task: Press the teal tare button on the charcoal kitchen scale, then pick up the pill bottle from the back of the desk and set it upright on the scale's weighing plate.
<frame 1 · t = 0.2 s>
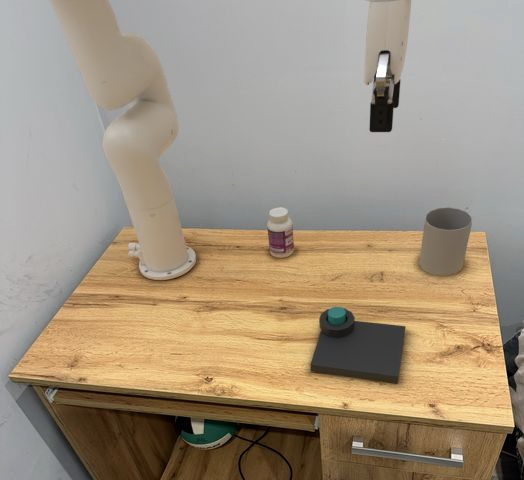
hand: (384, 118, 76), 31 cm above the table, tool pointing down, fingers open, 9 cm apart
tare button: (336, 315, 86), point 4 cm above the table, slide at 0.2 cm
pill bottle: (282, 252, 109), on the table
scale: (358, 352, 84), on the table
cup: (440, 264, 100), on the table
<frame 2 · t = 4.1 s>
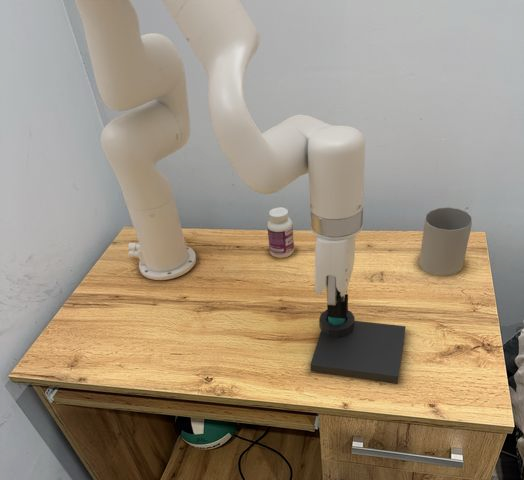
hand: (337, 314, 85), 4 cm above the table, tool pointing down, fingers closed
tare button: (336, 318, 86), point 3 cm above the table, slide at -0.4 cm, touching gripper
everything else where it was.
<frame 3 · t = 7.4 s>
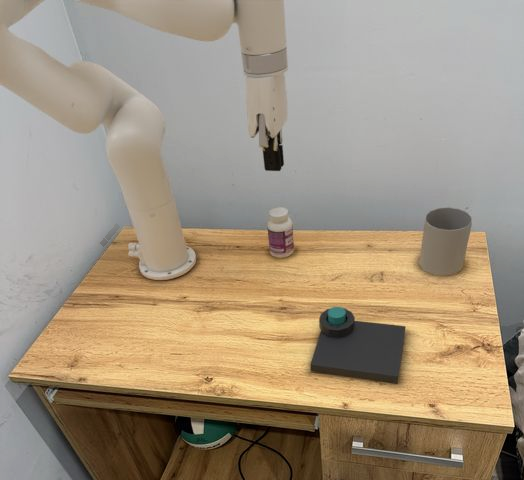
hand: (274, 167, 96), 19 cm above the table, tool pointing down, fingers closed
tare button: (336, 316, 86), point 4 cm above the table, slide at 0.1 cm
everything else where it was.
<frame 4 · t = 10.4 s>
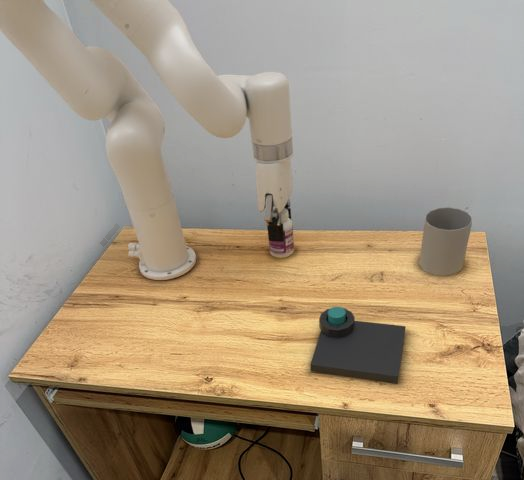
hand: (280, 232, 106), 5 cm above the table, tool pointing down, fingers closed on pill bottle, 5 cm apart
pill bottle: (282, 252, 109), on the table, touching gripper
everything else where it was.
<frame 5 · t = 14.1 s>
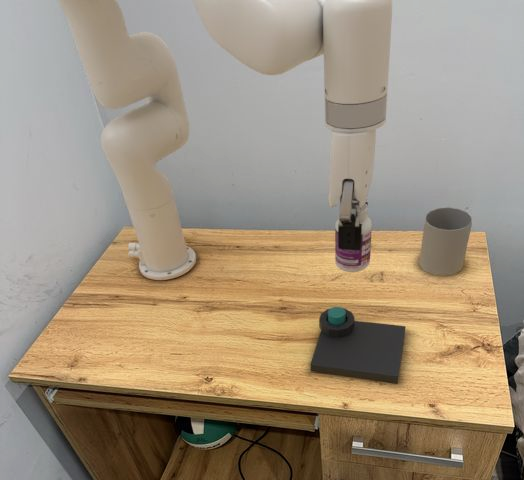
hand: (352, 236, 74), 20 cm above the table, tool pointing down, fingers closed on pill bottle, 5 cm apart
pill bottle: (352, 264, 78), point 15 cm above the table, touching gripper
everything else where it was.
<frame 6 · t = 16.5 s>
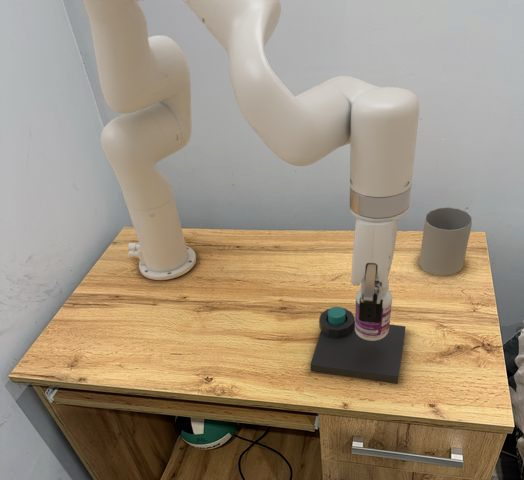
hand: (372, 306, 76), 11 cm above the table, tool pointing down, fingers closed on pill bottle, 5 cm apart
pill bottle: (371, 331, 79), point 6 cm above the table, touching gripper
everything else where it was.
when the fingers open (7 cm above the table, at t = 18.1 s): pill bottle stays where it is, resting on scale.
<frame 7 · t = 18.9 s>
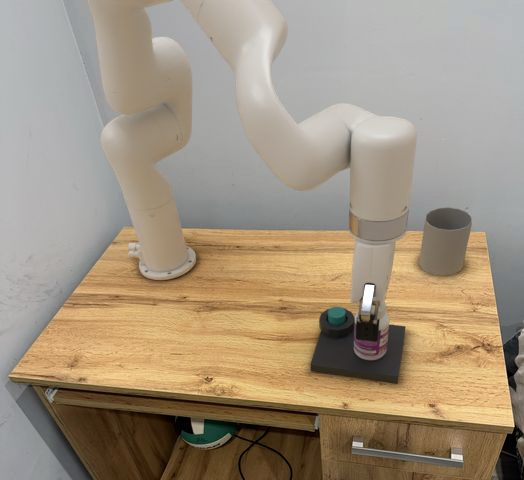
hand: (371, 318, 77), 9 cm above the table, tool pointing down, fingers open, 9 cm apart
pill bottle: (370, 350, 82), point 2 cm above the table, touching scale
everything else where it was.
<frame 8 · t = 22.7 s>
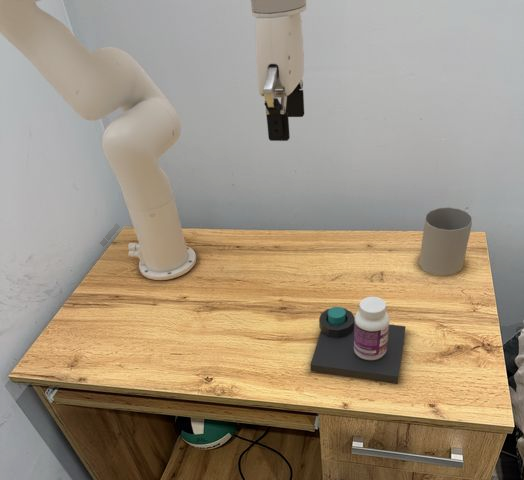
hand: (287, 127, 80), 30 cm above the table, tool pointing down, fingers open, 9 cm apart
nothing on the table moved.
at the end: tare button pushed in 1.1 cm at the most during the clip, back to where it started at the end; pill bottle inside the target area on the scale (1.5 cm from its centre), point 1.5 cm above the scale's base; pill bottle tilted 0° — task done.
